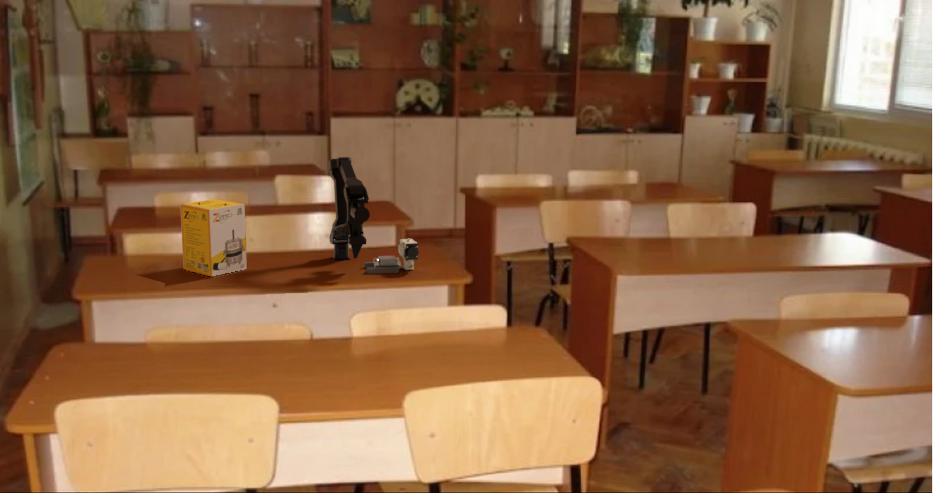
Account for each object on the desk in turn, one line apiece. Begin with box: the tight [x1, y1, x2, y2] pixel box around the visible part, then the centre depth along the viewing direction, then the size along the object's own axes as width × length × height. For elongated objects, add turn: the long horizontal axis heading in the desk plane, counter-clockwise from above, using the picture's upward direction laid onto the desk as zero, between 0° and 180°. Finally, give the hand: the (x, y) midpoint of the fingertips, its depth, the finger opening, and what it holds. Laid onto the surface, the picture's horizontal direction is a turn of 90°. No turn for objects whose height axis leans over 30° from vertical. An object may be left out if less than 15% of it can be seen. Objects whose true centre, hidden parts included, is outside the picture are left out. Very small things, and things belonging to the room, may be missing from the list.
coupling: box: [372, 255, 402, 270], centre depth 340 cm, size 5×10×5 cm, turn 103°
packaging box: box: [179, 198, 248, 276], centre depth 331 cm, size 16×16×25 cm
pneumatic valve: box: [397, 237, 420, 271], centre depth 341 cm, size 6×12×12 cm, turn 20°
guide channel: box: [363, 261, 400, 275], centre depth 339 cm, size 9×12×2 cm
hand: (355, 258), depth 336 cm, fingers closed
